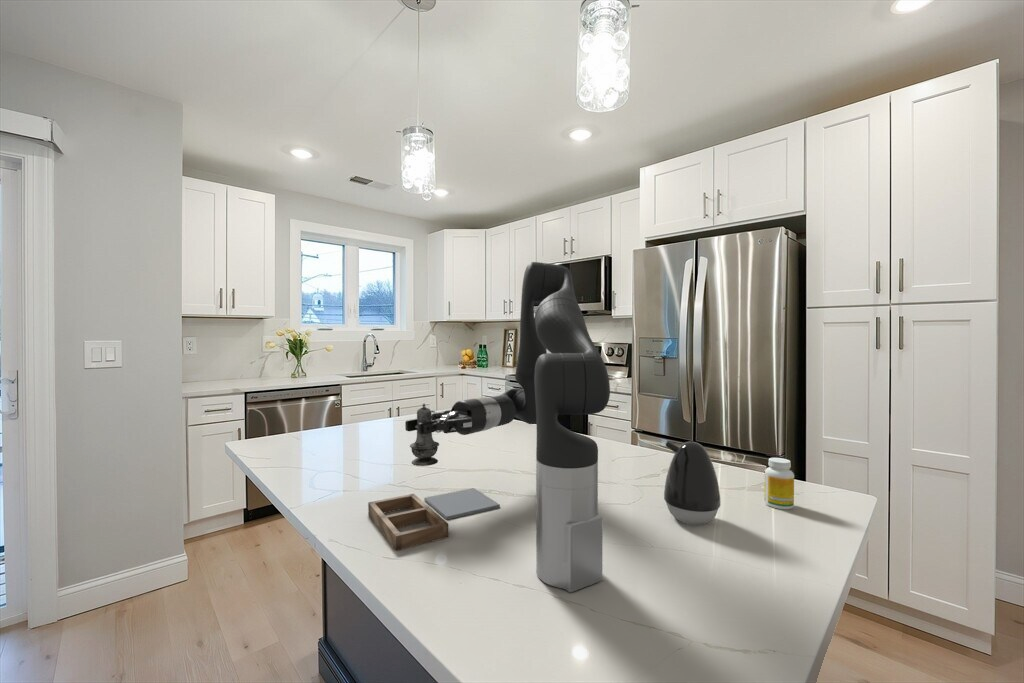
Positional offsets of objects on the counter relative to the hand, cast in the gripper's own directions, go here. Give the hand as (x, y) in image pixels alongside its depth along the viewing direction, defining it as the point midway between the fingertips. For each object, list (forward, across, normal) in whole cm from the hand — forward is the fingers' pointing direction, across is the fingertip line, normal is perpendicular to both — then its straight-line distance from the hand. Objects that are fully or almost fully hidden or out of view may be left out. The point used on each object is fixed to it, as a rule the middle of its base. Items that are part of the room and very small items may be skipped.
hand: (413, 427), depth 91 cm
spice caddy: (+4, +3, +18) cm, 18 cm away
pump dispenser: (-35, +41, +18) cm, 57 cm away
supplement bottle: (-55, +52, +18) cm, 78 cm away
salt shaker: (-3, 0, +8) cm, 8 cm away
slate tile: (-10, +2, +18) cm, 21 cm away
